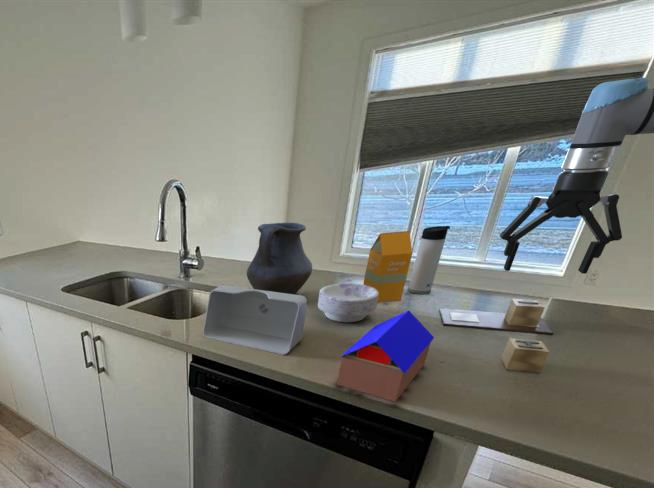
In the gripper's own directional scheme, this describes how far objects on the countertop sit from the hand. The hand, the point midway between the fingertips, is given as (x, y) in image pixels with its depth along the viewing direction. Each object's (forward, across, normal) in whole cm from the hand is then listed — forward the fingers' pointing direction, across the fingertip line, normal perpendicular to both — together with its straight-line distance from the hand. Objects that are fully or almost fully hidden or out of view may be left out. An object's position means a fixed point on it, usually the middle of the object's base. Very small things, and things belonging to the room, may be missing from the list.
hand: (543, 270), depth 95 cm
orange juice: (+14, -32, +16) cm, 38 cm away
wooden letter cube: (+14, -4, -24) cm, 28 cm away
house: (+14, -30, -38) cm, 50 cm away
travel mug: (+14, -21, +25) cm, 35 cm away
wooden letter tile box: (+14, 0, +2) cm, 14 cm away
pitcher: (+14, -63, +6) cm, 65 cm away
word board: (+14, -6, +2) cm, 15 cm away
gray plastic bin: (+14, -61, -25) cm, 68 cm away
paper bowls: (+14, -41, -5) cm, 43 cm away
